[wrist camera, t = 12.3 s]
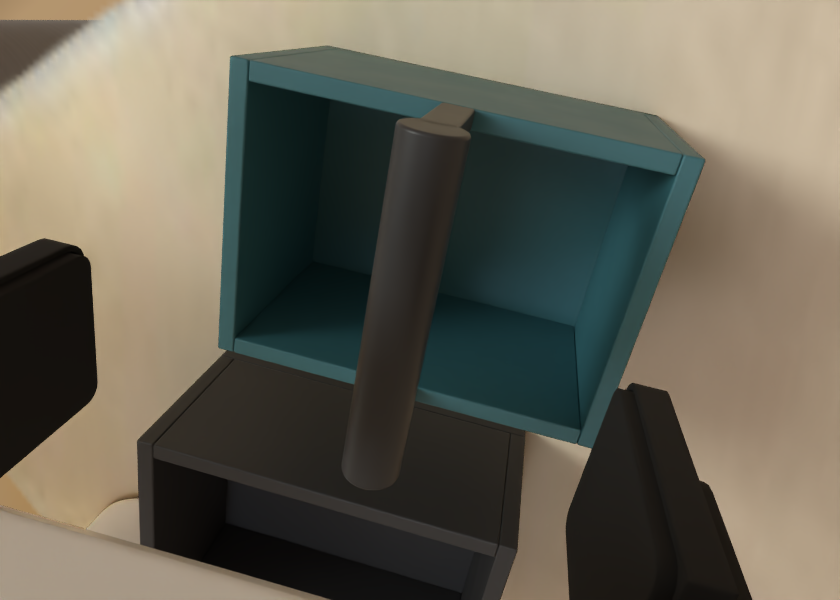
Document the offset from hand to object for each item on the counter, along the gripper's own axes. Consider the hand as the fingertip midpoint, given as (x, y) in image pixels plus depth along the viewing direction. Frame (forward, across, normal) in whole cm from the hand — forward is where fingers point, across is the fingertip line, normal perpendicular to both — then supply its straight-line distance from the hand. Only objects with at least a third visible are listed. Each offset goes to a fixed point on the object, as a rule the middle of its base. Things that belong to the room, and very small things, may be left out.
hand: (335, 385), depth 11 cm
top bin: (+13, -1, 0) cm, 13 cm away
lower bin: (+13, +1, +14) cm, 19 cm away
